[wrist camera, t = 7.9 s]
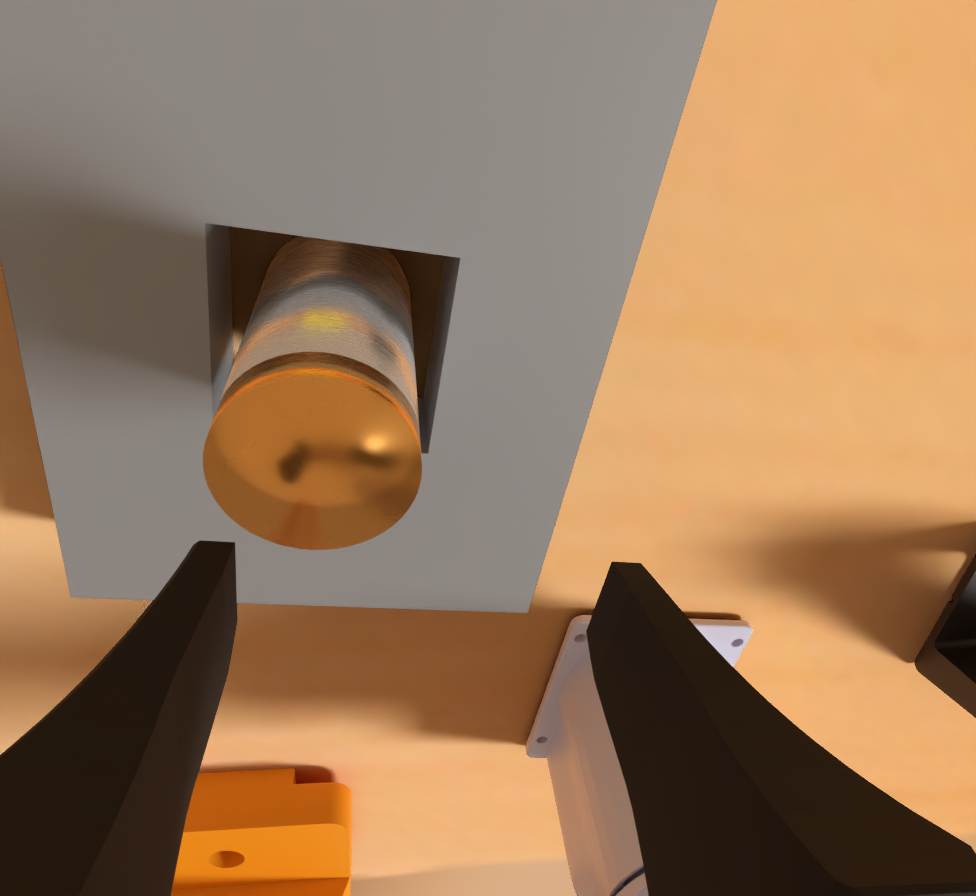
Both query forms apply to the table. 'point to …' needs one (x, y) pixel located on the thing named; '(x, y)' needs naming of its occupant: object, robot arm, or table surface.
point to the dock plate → (332, 216)
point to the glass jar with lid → (321, 401)
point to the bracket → (265, 837)
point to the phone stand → (954, 645)
